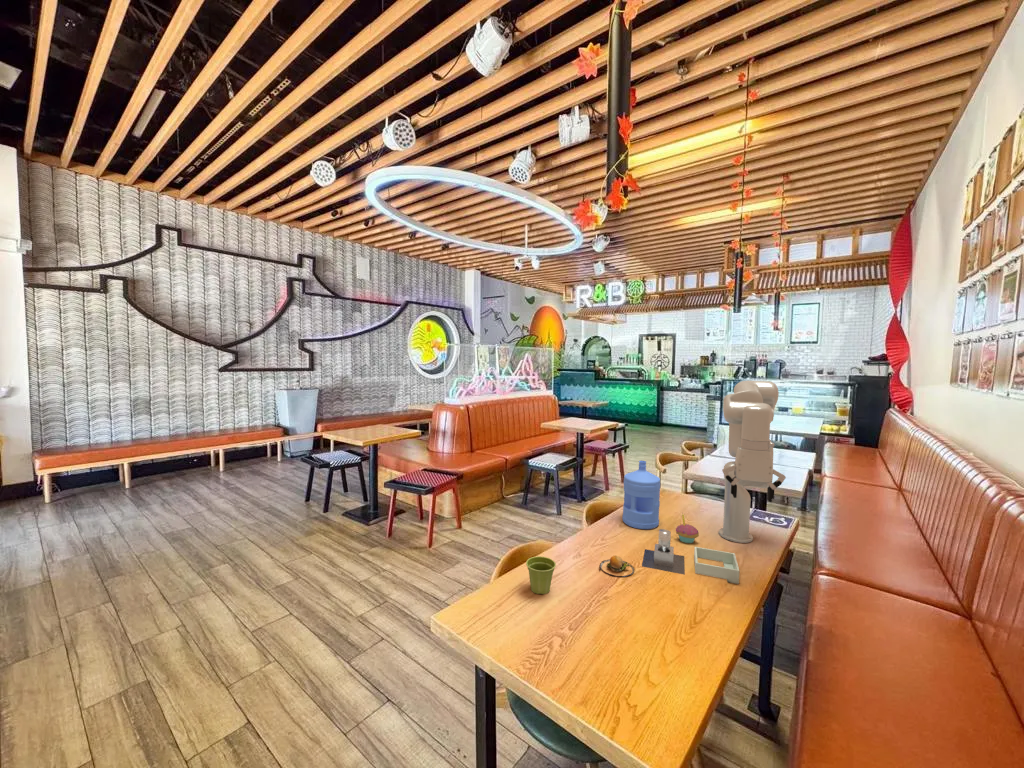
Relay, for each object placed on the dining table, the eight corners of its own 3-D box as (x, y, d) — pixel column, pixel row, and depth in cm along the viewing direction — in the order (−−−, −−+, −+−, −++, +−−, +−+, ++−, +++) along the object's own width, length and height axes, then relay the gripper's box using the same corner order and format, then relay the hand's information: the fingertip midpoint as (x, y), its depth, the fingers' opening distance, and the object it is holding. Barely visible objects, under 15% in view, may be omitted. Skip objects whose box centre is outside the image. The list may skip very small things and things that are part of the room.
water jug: (634, 513, 199) (636, 455, 197) (665, 523, 188) (667, 462, 185) (615, 522, 189) (617, 460, 186) (647, 533, 177) (649, 468, 175)
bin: (694, 558, 156) (694, 546, 155) (734, 565, 151) (734, 553, 150) (695, 576, 143) (695, 563, 143) (738, 584, 139) (739, 570, 138)
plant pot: (539, 578, 141) (539, 553, 140) (561, 589, 134) (561, 563, 134) (519, 589, 134) (520, 562, 134) (541, 601, 128) (542, 574, 127)
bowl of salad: (640, 572, 146) (641, 551, 146) (623, 585, 138) (624, 563, 137) (609, 560, 154) (610, 540, 154) (592, 572, 146) (593, 551, 145)
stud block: (644, 551, 161) (645, 539, 160) (684, 558, 155) (684, 545, 155) (641, 569, 148) (642, 555, 147) (684, 577, 142) (685, 563, 142)
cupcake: (675, 544, 167) (676, 515, 166) (675, 536, 174) (676, 508, 174) (698, 548, 163) (700, 519, 163) (697, 540, 171) (699, 511, 170)
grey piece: (654, 555, 156) (655, 526, 155) (673, 558, 153) (674, 529, 152) (653, 563, 150) (654, 533, 149) (672, 567, 147) (674, 536, 146)
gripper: (784, 445, 131) (780, 498, 132) (722, 440, 137) (719, 491, 139) (790, 450, 124) (786, 506, 125) (725, 445, 130) (722, 498, 132)
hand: (751, 498), depth 132 cm, fingers open, 9 cm apart
